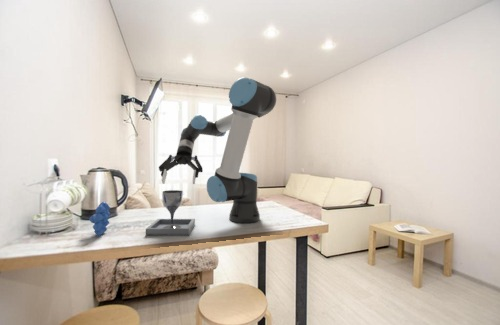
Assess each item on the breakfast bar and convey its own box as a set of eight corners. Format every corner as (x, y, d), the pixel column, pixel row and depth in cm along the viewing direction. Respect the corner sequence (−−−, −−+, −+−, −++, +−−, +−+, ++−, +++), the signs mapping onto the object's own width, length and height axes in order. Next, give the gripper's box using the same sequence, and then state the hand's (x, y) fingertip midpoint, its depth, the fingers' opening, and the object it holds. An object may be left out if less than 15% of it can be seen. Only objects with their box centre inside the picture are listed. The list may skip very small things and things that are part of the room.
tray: (194, 224, 102) (194, 218, 102) (188, 235, 87) (188, 228, 87) (158, 224, 100) (158, 218, 100) (145, 235, 85) (145, 229, 85)
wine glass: (175, 231, 89) (176, 193, 89) (157, 229, 91) (158, 192, 90) (185, 225, 97) (186, 190, 97) (168, 224, 98) (169, 189, 98)
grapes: (94, 229, 91) (95, 200, 91) (113, 228, 93) (114, 199, 93) (81, 239, 80) (82, 205, 80) (103, 238, 82) (104, 205, 82)
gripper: (209, 156, 122) (206, 187, 107) (161, 155, 119) (151, 186, 104) (209, 145, 116) (205, 177, 102) (158, 144, 114) (147, 176, 99)
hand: (178, 182), depth 103 cm, fingers open, 13 cm apart
